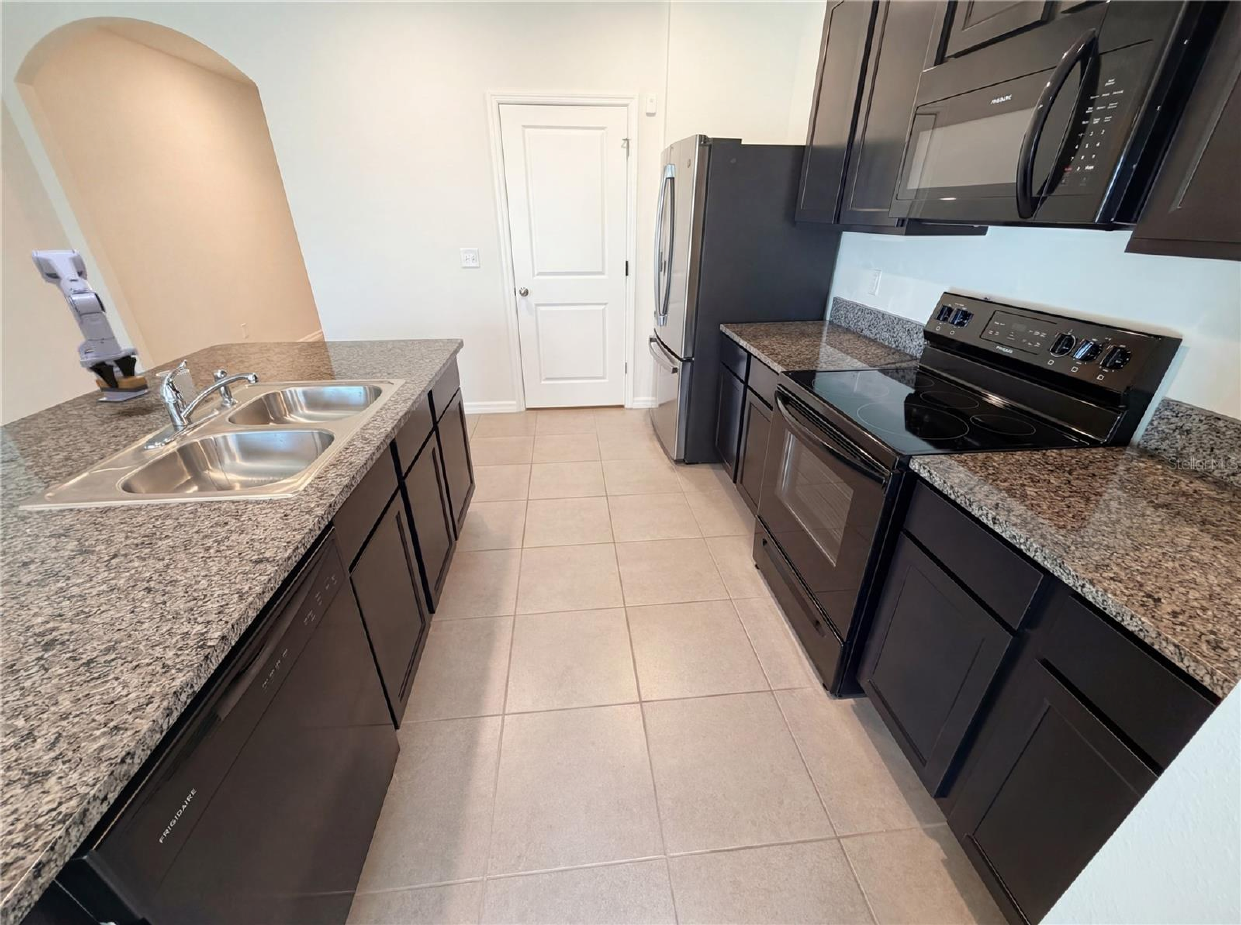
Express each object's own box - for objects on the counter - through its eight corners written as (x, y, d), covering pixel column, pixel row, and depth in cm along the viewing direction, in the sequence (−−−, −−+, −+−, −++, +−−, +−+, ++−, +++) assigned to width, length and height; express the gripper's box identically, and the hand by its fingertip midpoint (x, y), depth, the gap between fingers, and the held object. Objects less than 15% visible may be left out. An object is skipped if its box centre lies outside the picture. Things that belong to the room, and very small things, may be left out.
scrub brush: (100, 391, 146) (94, 379, 144) (115, 387, 150) (110, 375, 148) (135, 392, 145) (129, 380, 143) (149, 388, 149) (144, 376, 147)
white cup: (163, 406, 155) (149, 375, 150) (189, 398, 162) (177, 368, 157) (181, 409, 153) (168, 377, 148) (207, 400, 159) (195, 370, 155)
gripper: (87, 344, 134) (110, 393, 140) (139, 333, 147) (158, 378, 153) (63, 344, 135) (87, 392, 141) (117, 332, 148) (137, 377, 154)
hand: (123, 385), depth 147 cm, fingers closed on scrub brush, 4 cm apart
